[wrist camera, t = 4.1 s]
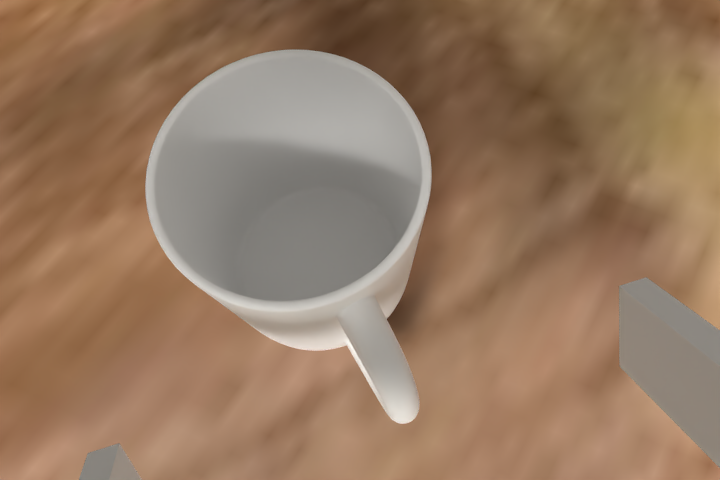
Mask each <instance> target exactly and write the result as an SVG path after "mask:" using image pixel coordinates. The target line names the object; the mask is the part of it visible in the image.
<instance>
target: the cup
mask: <svg viewBox="0 0 720 480" xmlns="http://www.w3.org/2000/svg"><path fill="white" fill-rule="evenodd" d="M431 180H432V168H431V157H430V152H429V147H428V143H427V140H426V137H425V134H424V131H423V129H422V126H421V124H420V122H419V120H418V118H417V116H416V115H415V113H414V111H413V110H412V108H411V107H410V105H409V104H408V103H407V101H406V100H405V99H404V98H403V97H402V95H401V94H400V93H399V92H398V91H397V90H396V89H395V88H394V87H393V86H392V85H391V84H390V83H388V82H387V81H386V80H385V79H383V78H382V77H381V76H379V75H378V74H376V73H375V72H373V71H372V70H370V69H368V68H367V67H365V66H363V65H361V64H359V63H357V62H354V61H352V60H349V59H347V58H344V57H341V56H338V55H334V54H330V53H325V52H320V51H312V50H279V51H271V52H266V53H261V54H256V55H253V56H250V57H246V58H243V59H241V60H238V61H236V62H233V63H231V64H229V65H227V66H225V67H223V68H221V69H219V70H217V71H216V72H214V73H212V74H211V75H209V76H208V77H206V78H205V79H203V80H202V81H201V82H199V83H198V84H197V85H196V86H194V87H193V88H192V89H191V90H190V91H189V92H188V93H187V94H186V95H185V96H184V97H183V98H182V99H181V100H180V101H179V102H178V103H177V105H176V106H175V107H174V108H173V110H172V111H171V112H170V114H169V115H168V117H167V118H166V120H165V121H164V123H163V125H162V127H161V129H160V130H159V132H158V134H157V137H156V139H155V142H154V144H153V147H152V150H151V153H150V157H149V161H148V166H147V173H146V202H147V210H148V214H149V218H150V222H151V225H152V228H153V230H154V233H155V235H156V237H157V240H158V242H159V244H160V246H161V247H162V249H163V250H164V252H165V253H166V255H167V257H168V258H169V259H170V260H171V262H172V263H173V264H174V265H175V267H176V268H177V269H178V270H179V271H180V272H181V273H182V274H183V275H184V276H185V277H186V278H188V279H189V280H190V281H191V282H193V283H194V284H195V285H196V286H198V287H199V288H200V289H202V290H203V291H204V292H206V293H207V294H209V295H210V296H211V297H213V298H214V299H215V300H217V301H218V302H220V303H221V304H222V305H224V306H225V307H226V308H228V309H229V310H230V311H232V312H233V313H235V314H236V315H237V316H239V317H240V318H241V319H243V320H244V321H245V322H247V323H248V324H250V325H251V326H252V327H254V328H255V329H256V330H258V331H259V332H261V333H262V334H264V335H265V336H267V337H269V338H270V339H272V340H274V341H276V342H278V343H281V344H284V345H286V346H289V347H293V348H297V349H303V350H315V351H316V350H329V349H335V348H339V347H343V346H346V345H347V346H348V348H349V350H350V351H351V353H352V355H353V356H354V358H355V360H356V362H357V363H358V365H359V367H360V369H361V371H362V372H363V374H364V376H365V378H366V379H367V381H368V383H369V385H370V386H371V388H372V390H373V392H374V393H375V395H376V397H377V398H378V400H379V402H380V403H381V405H382V407H383V408H384V410H385V411H386V413H387V414H388V415H389V417H390V418H391V419H392V420H393V421H395V422H397V423H402V424H405V423H408V422H411V421H412V420H413V419H414V418H415V417H416V415H417V413H418V411H419V395H418V391H417V388H416V384H415V381H414V378H413V375H412V372H411V370H410V367H409V365H408V362H407V360H406V358H405V356H404V353H403V351H402V349H401V347H400V345H399V343H398V341H397V339H396V337H395V335H394V333H393V331H392V329H391V327H390V325H389V323H388V321H387V318H388V317H389V316H390V315H391V313H392V312H393V311H394V309H395V308H396V306H397V304H398V303H399V301H400V299H401V297H402V295H403V293H404V290H405V288H406V285H407V282H408V279H409V275H410V271H411V267H412V263H413V259H414V256H415V252H416V248H417V244H418V240H419V237H420V233H421V229H422V225H423V221H424V217H425V214H426V210H427V206H428V201H429V197H430V190H431Z"/></svg>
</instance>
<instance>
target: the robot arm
mask: <svg viewBox="0 0 720 480" xmlns="http://www.w3.org/2000/svg"><path fill="white" fill-rule="evenodd" d="M619 363H620V367H621V368H622V369H623V370H624V371H625V372H626V373H627V374H628V375H629V376H630V377H631V378H632V379H633V380H634V381H635V382H636V383H637V384H638V385H639V386H640V388H641V389H642V390H643V391H644V392H645V393H646V394H647V395H648V396H649V397H650V398H651V399H652V400H653V401H654V402H655V403H656V404H657V405H658V406H659V407H660V408H661V409H662V410H663V411H664V412H665V413H666V414H667V415H668V416H669V417H670V418H671V419H672V420H673V421H674V422H675V423H676V424H677V425H678V426H679V427H680V428H681V429H682V430H683V431H684V432H685V433H686V434H687V435H688V436H689V437H690V438H691V439H692V440H693V441H694V442H695V443H696V444H697V445H698V446H699V447H700V448H701V449H702V450H703V451H704V452H705V453H706V454H707V455H708V456H709V457H710V458H711V460H712V461H713V462H714V463H715V464H716V465H717V466H718V467H719V468H720V330H718V329H717V328H716V327H714V326H713V325H711V324H710V323H709V322H707V321H706V320H704V319H703V318H702V317H700V316H699V315H698V314H696V313H695V312H693V311H692V310H691V309H689V308H688V307H687V306H685V305H684V304H682V303H681V302H680V301H678V300H677V299H675V298H674V297H673V296H671V295H670V294H669V293H667V292H666V291H664V290H663V289H662V288H660V287H659V286H658V285H656V284H655V283H653V282H652V281H651V280H649V279H648V278H643V279H640V280H637V281H633V282H630V283H627V284H624V285H621V286H619ZM79 480H142V479H141V477H140V476H139V474H138V473H137V471H136V469H135V468H134V466H133V465H132V463H131V461H130V460H129V458H128V456H127V455H126V453H125V452H124V450H123V448H122V447H121V445H120V444H116V445H112V446H109V447H106V448H103V449H100V450H96V451H93V452H90V453H88V455H87V458H86V460H85V463H84V466H83V469H82V472H81V475H80V478H79Z"/></svg>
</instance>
